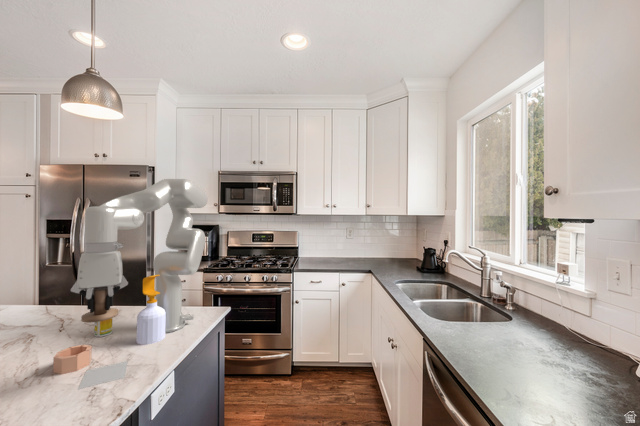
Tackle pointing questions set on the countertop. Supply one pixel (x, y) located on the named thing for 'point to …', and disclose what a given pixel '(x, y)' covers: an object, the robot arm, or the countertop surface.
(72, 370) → the octagonal peach pot
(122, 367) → the mat
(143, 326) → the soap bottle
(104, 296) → the lid
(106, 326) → the supplement bottle
